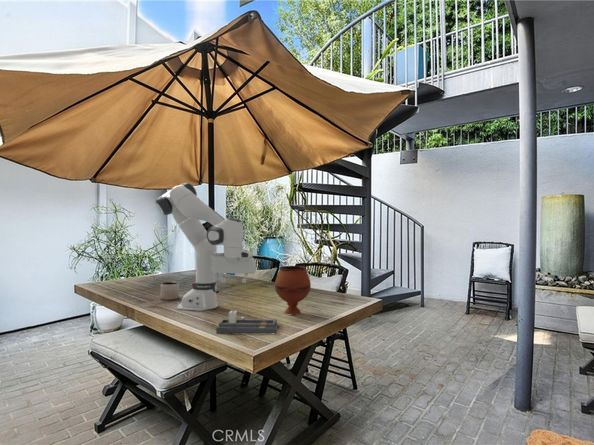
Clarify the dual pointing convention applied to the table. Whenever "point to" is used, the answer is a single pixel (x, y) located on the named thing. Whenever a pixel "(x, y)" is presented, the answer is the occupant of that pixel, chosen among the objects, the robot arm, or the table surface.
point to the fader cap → (233, 316)
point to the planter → (169, 290)
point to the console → (247, 326)
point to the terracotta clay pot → (292, 286)
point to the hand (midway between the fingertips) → (233, 283)
